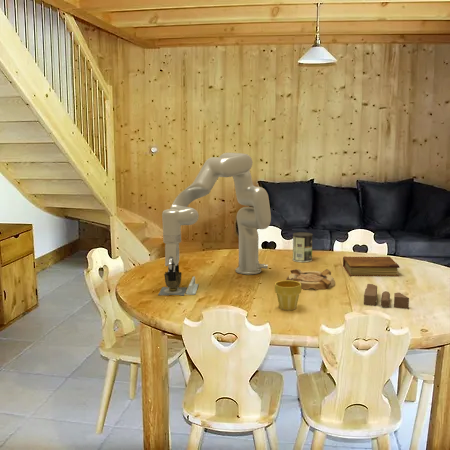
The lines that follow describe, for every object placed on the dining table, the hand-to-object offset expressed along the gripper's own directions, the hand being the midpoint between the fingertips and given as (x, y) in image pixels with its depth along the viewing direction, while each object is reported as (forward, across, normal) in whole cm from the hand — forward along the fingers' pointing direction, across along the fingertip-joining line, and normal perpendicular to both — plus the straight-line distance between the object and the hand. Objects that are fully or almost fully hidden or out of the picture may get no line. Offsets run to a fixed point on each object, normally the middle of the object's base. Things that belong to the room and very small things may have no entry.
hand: (173, 277), depth 237 cm
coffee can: (+8, -57, +59) cm, 83 cm away
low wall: (+6, -2, +8) cm, 10 cm away
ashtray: (+8, -15, +59) cm, 62 cm away
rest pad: (+6, +1, 0) cm, 6 cm away
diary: (+9, -36, +90) cm, 98 cm away
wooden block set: (+8, +9, +88) cm, 89 cm away
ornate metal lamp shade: (+6, +1, 0) cm, 6 cm away
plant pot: (+7, +20, +48) cm, 52 cm away
